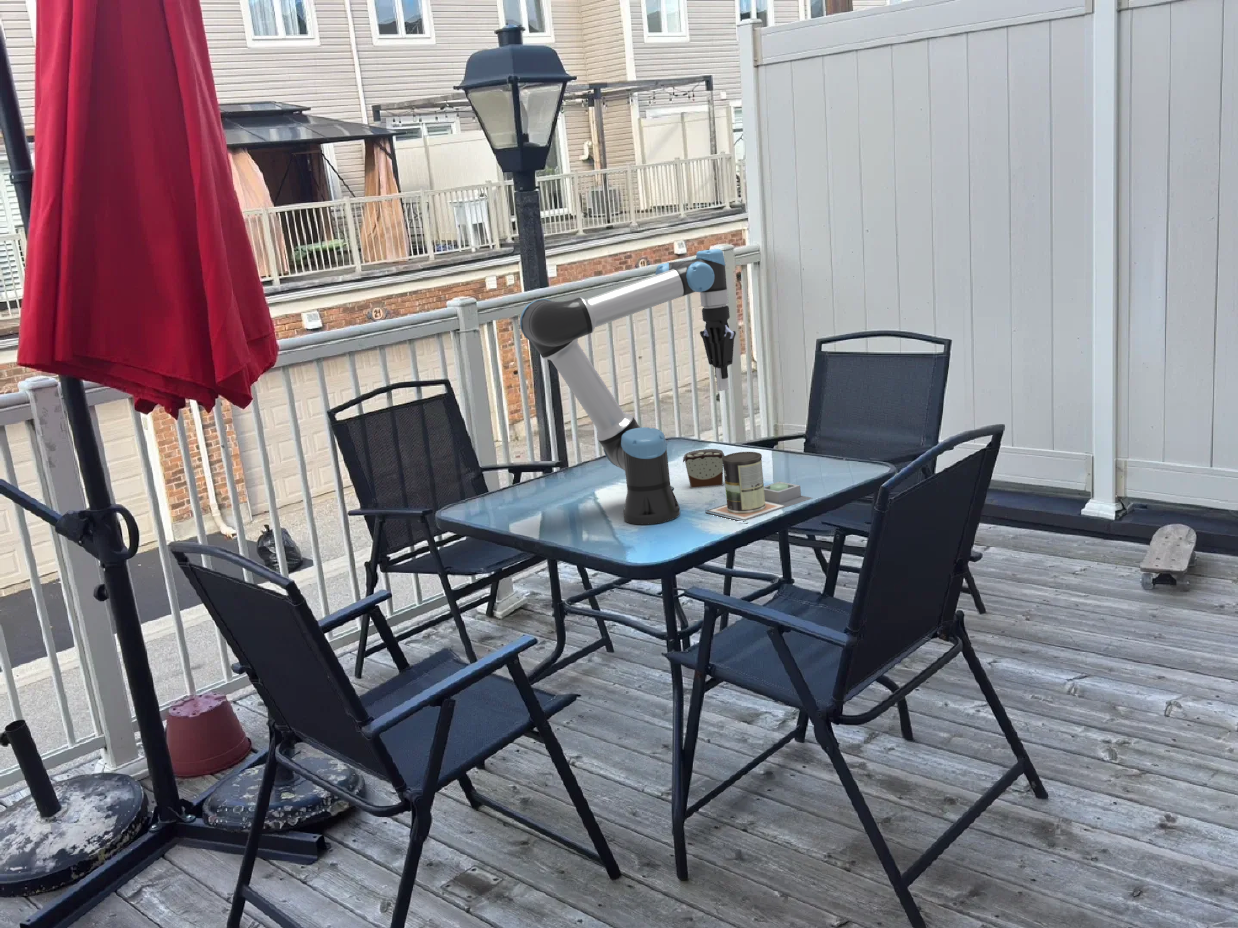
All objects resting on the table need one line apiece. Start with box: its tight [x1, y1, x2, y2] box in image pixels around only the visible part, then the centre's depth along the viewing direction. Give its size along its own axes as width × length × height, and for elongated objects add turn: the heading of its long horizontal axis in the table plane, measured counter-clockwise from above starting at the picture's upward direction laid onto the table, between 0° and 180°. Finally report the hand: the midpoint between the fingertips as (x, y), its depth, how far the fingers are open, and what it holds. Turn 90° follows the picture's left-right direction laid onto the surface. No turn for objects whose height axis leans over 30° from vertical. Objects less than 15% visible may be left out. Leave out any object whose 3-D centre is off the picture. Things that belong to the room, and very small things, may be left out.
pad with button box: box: [705, 481, 813, 522], centre depth 289 cm, size 24×16×4 cm, turn 125°
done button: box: [769, 482, 788, 491], centre depth 292 cm, size 5×5×3 cm
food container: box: [682, 448, 726, 489], centre depth 318 cm, size 12×6×10 cm, turn 84°
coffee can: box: [722, 451, 766, 514], centre depth 285 cm, size 10×10×14 cm
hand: (723, 389), depth 306 cm, fingers closed
